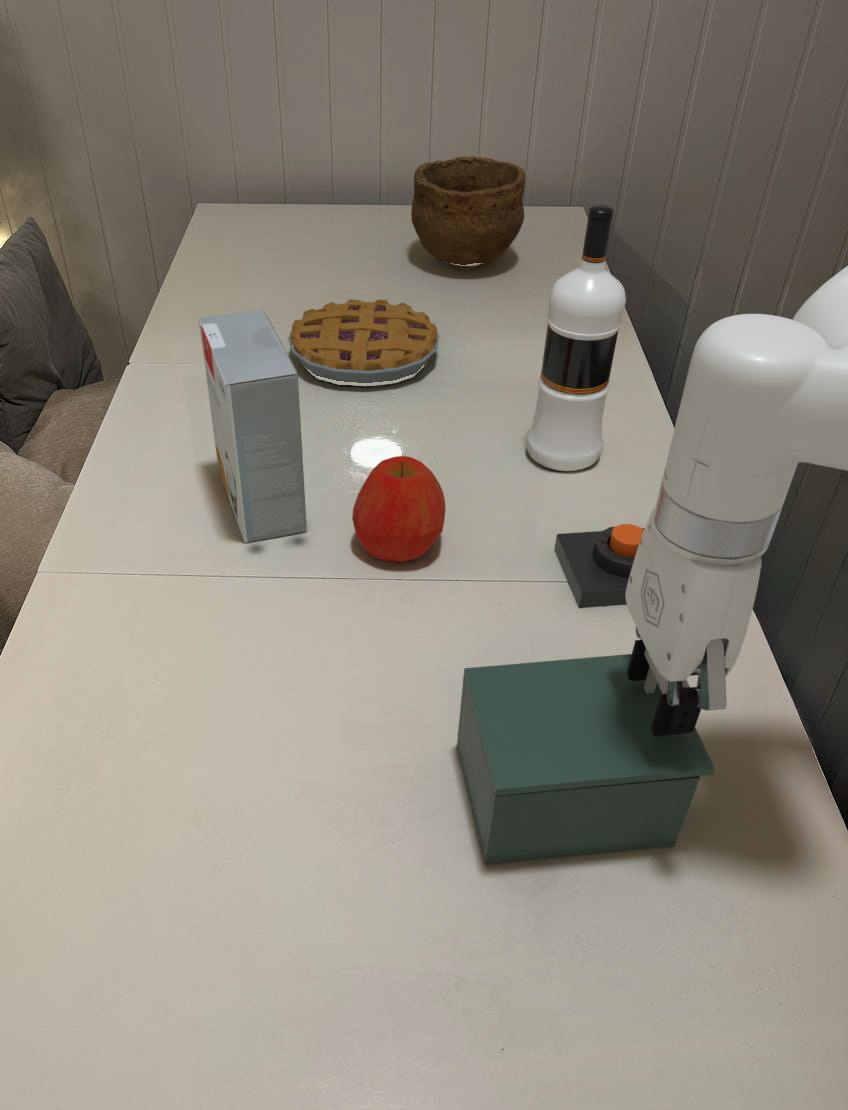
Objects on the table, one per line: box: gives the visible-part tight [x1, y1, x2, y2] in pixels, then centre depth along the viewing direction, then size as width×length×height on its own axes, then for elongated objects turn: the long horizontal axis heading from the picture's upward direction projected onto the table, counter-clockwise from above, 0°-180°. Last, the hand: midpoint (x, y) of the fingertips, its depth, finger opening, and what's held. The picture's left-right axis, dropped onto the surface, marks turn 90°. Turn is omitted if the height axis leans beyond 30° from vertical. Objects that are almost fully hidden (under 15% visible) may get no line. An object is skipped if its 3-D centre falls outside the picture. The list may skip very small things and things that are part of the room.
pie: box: [287, 298, 440, 383], centre depth 137 cm, size 22×22×5 cm
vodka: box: [525, 203, 627, 472], centre depth 109 cm, size 9×9×30 cm
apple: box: [351, 455, 447, 563], centre depth 102 cm, size 10×10×10 cm
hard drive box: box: [197, 309, 307, 543], centre depth 105 cm, size 16×8×20 cm, turn 17°
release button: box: [609, 523, 644, 557], centre depth 99 cm, size 4×4×2 cm
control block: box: [553, 526, 645, 609], centre depth 101 cm, size 12×10×4 cm
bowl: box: [410, 155, 526, 265], centre depth 159 cm, size 19×19×15 cm
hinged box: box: [456, 675, 701, 865], centre depth 78 cm, size 16×13×9 cm
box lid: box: [463, 649, 716, 796], centre depth 73 cm, size 16×13×6 cm
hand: (659, 701), depth 74 cm, fingers closed on box lid, 5 cm apart
